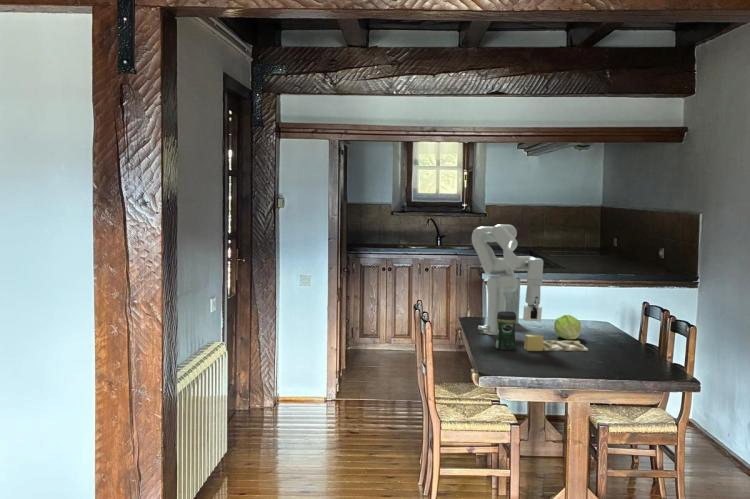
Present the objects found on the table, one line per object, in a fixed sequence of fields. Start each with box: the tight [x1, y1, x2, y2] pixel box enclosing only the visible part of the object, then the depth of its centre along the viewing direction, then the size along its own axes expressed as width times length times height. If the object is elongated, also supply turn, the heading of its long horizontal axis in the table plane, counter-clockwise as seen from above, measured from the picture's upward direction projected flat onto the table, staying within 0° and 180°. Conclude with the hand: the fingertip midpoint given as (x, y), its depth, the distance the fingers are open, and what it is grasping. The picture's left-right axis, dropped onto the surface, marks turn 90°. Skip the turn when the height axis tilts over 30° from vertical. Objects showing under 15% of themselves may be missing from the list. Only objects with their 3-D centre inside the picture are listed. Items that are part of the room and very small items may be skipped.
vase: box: [503, 276, 522, 325], centre depth 450 cm, size 10×10×27 cm
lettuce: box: [553, 314, 582, 341], centre depth 405 cm, size 13×22×14 cm
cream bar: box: [522, 305, 543, 322], centre depth 390 cm, size 8×4×7 cm, turn 96°
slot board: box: [543, 340, 589, 352], centre depth 381 cm, size 22×12×2 cm, turn 96°
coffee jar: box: [495, 311, 517, 351], centre depth 374 cm, size 10×8×19 cm
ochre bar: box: [523, 334, 545, 352], centre depth 375 cm, size 8×4×7 cm, turn 96°
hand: (532, 317), depth 390 cm, fingers closed on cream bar, 4 cm apart
